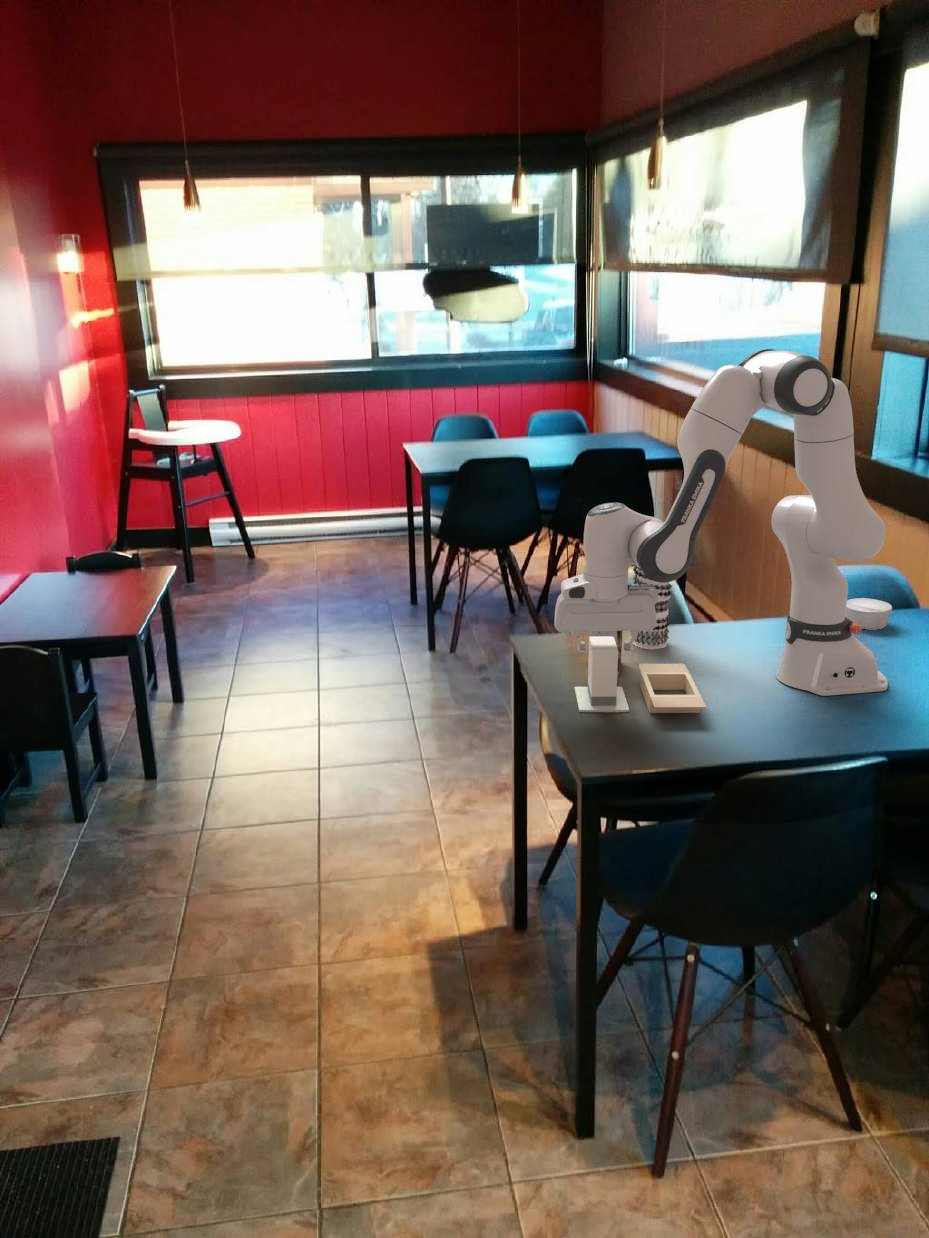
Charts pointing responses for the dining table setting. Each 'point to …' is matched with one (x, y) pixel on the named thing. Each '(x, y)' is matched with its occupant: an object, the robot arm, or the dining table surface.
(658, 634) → the decorative candle
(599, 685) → the cream box
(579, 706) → the white rectangular plate
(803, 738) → the dining table surface
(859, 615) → the ramekin
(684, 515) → the robot arm
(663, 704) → the beige hollow rectangular block
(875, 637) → the dining table surface
